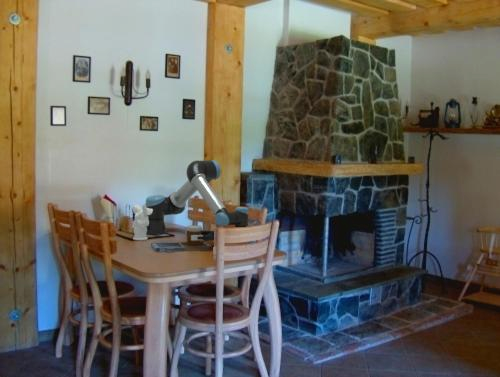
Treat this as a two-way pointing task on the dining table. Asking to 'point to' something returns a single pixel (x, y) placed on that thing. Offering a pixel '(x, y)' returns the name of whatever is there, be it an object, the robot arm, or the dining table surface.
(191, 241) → the disposable coffee cup
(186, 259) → the dining table surface
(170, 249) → the two-bay frame
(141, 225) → the cherub figurine
